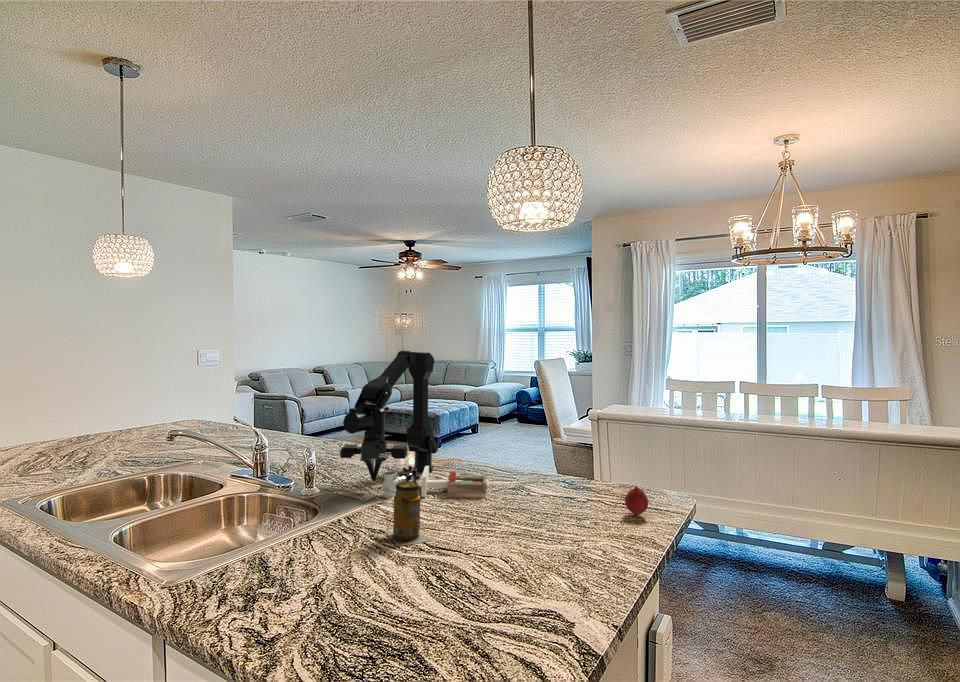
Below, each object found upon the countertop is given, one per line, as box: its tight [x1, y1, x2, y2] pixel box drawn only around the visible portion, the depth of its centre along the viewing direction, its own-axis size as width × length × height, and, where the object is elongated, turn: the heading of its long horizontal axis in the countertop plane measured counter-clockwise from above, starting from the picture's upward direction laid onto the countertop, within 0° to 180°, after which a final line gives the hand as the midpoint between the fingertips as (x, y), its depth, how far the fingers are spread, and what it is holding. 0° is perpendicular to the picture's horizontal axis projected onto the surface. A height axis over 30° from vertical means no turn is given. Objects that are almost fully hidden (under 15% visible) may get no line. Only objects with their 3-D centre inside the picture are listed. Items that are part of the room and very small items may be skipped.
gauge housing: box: [446, 473, 487, 499], centre depth 151 cm, size 10×11×4 cm
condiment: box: [386, 480, 429, 547], centre depth 117 cm, size 7×8×12 cm
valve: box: [382, 464, 421, 499], centre depth 149 cm, size 7×7×12 cm
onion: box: [624, 484, 649, 516], centre depth 134 cm, size 6×6×8 cm
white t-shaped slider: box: [420, 466, 463, 498], centre depth 150 cm, size 12×12×6 cm
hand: (374, 480), depth 150 cm, fingers closed
